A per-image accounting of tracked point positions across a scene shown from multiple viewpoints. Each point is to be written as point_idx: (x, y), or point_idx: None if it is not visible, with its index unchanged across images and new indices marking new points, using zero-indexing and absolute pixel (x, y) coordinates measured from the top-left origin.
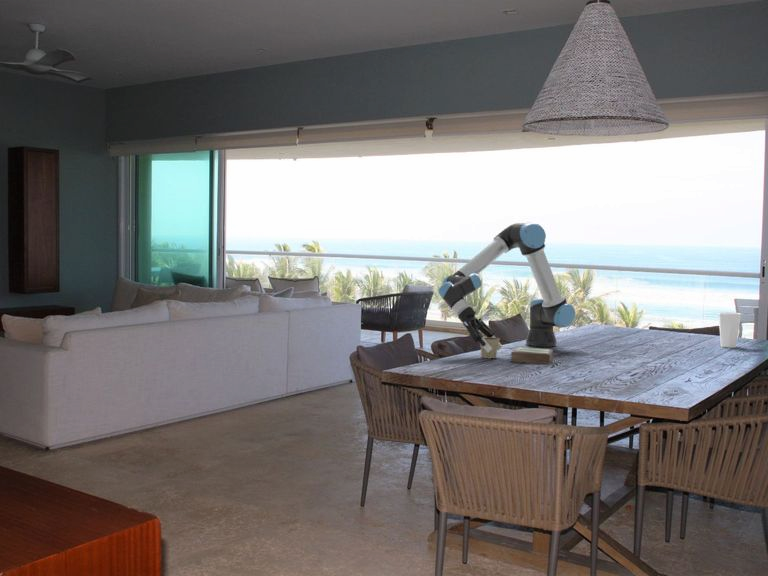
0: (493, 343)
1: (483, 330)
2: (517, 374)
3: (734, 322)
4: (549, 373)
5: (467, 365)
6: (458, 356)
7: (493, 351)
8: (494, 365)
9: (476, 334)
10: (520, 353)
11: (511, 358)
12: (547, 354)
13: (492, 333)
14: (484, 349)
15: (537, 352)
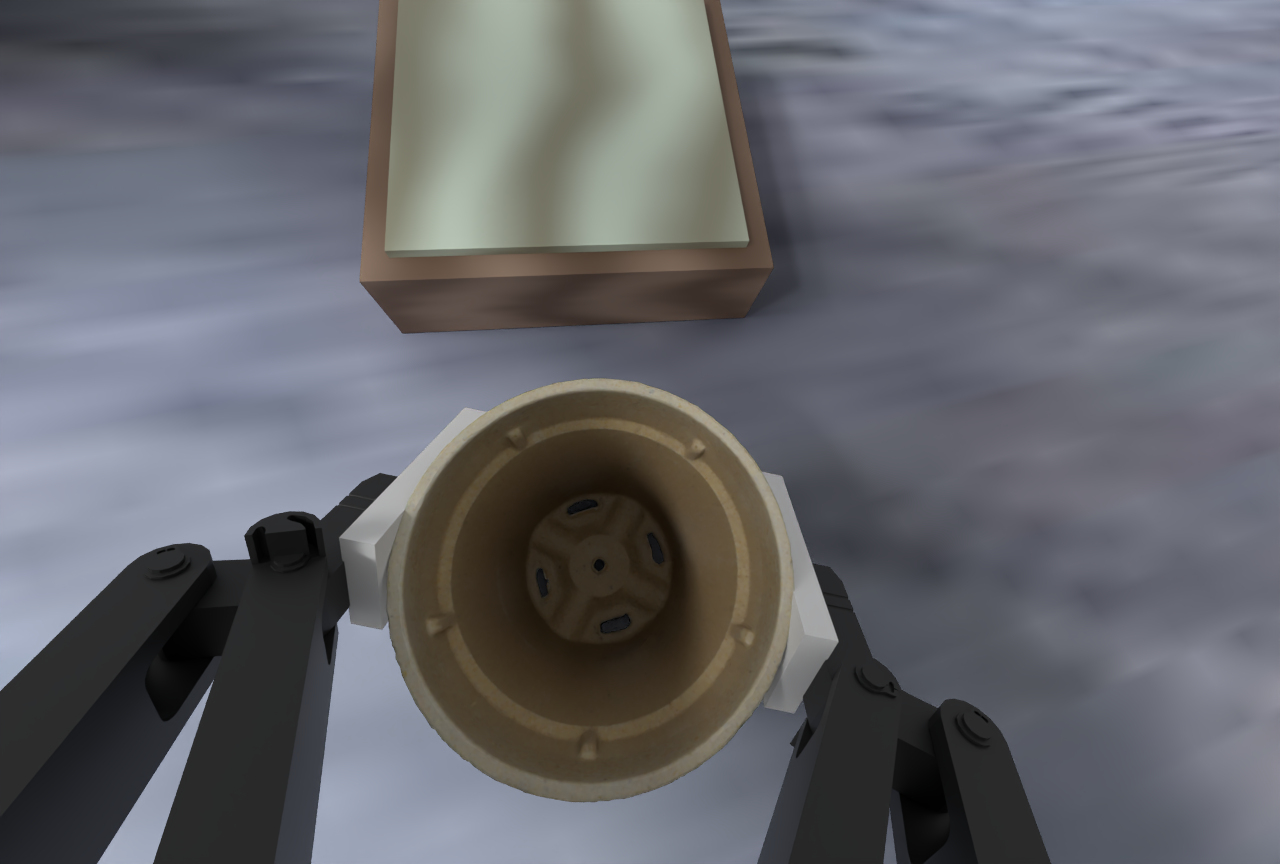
0: (707, 464)
1: (299, 840)
2: (1242, 191)
3: None
4: (1072, 49)
5: (1173, 614)
6: None
7: (663, 489)
8: (1012, 398)
9: (1008, 781)
10: (757, 193)
11: (752, 300)
12: (719, 4)
13: (259, 578)
14: (701, 600)
15: (705, 59)
